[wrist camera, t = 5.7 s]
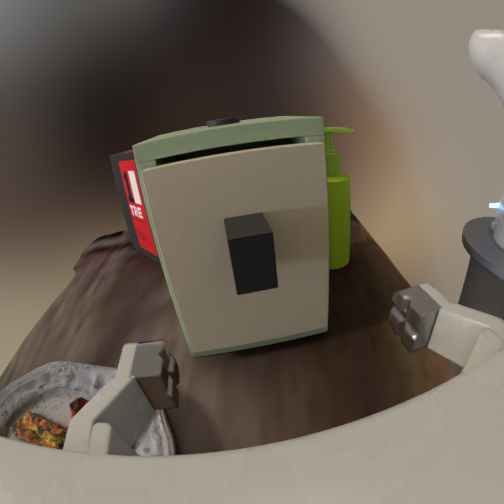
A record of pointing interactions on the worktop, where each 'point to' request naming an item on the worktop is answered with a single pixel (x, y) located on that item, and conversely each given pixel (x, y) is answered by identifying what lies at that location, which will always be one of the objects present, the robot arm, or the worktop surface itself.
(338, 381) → the worktop surface
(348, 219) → the soap dispenser
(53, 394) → the food plate
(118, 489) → the robot arm
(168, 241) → the basket
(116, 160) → the cleaning product box
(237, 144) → the box
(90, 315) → the worktop surface
